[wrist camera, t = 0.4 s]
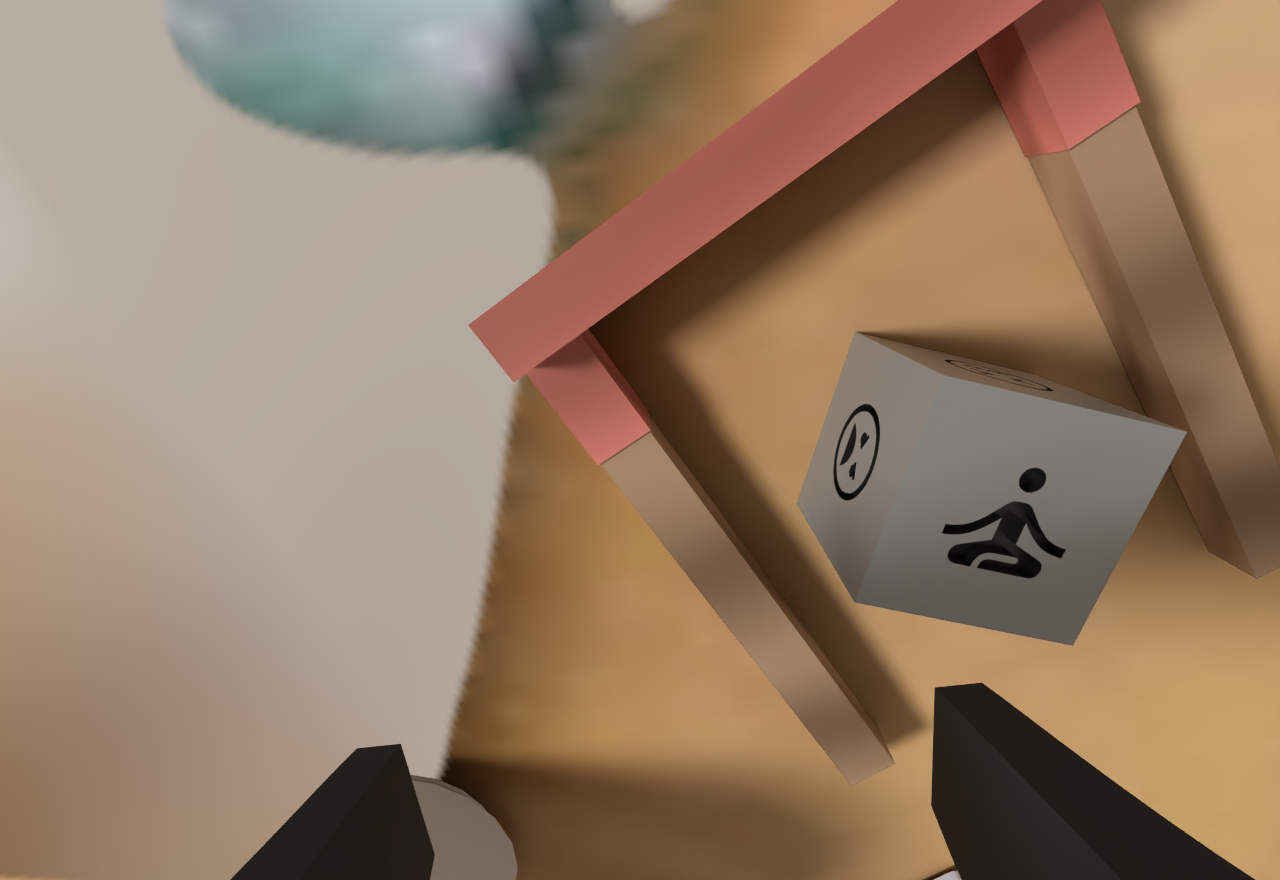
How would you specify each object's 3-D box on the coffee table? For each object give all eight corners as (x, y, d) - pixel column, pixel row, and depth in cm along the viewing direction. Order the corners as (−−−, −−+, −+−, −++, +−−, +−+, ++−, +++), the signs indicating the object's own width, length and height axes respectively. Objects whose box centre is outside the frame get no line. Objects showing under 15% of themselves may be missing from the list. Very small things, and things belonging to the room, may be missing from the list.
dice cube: (796, 502, 18) (854, 602, 13) (854, 331, 16) (943, 375, 12) (960, 537, 18) (1072, 645, 14) (1031, 373, 17) (1186, 432, 12)
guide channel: (1261, 523, 18) (1376, 579, 15) (835, 748, 21) (867, 830, 18) (1008, -78, 14) (1107, -158, 11) (496, 308, 16) (466, 326, 13)
